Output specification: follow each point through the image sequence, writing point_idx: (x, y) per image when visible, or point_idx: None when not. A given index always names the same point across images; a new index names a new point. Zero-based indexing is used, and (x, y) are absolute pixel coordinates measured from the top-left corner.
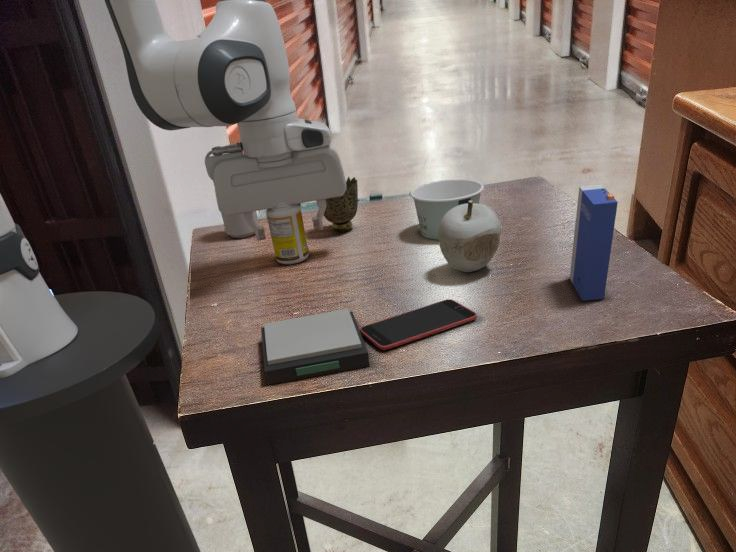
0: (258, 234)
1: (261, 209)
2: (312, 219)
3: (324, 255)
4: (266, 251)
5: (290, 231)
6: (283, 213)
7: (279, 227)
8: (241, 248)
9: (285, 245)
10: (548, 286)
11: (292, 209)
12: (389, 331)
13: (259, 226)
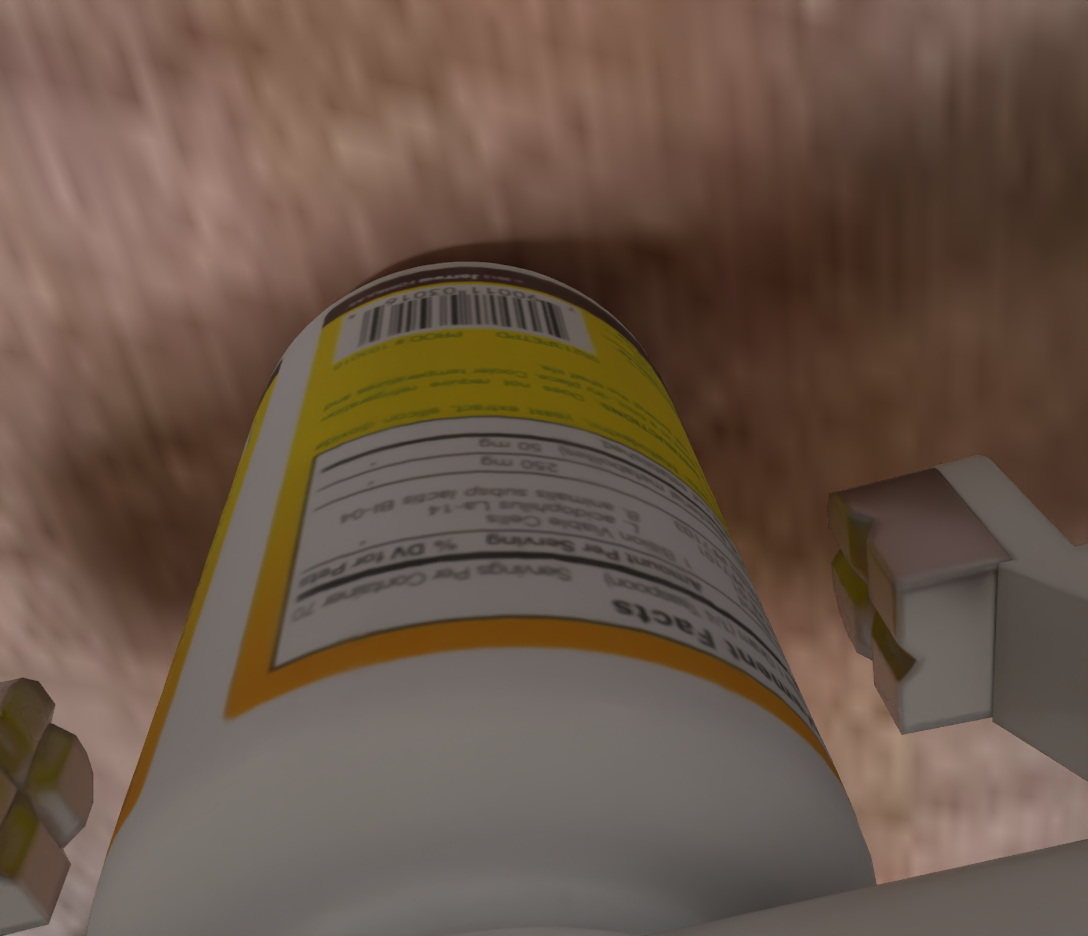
0: (974, 503)
1: (1051, 848)
2: (19, 857)
3: (83, 490)
4: (807, 706)
5: (342, 487)
6: (395, 739)
7: (551, 517)
8: (1050, 804)
9: (485, 357)
10: None
11: (168, 893)
12: None
13: (967, 699)
